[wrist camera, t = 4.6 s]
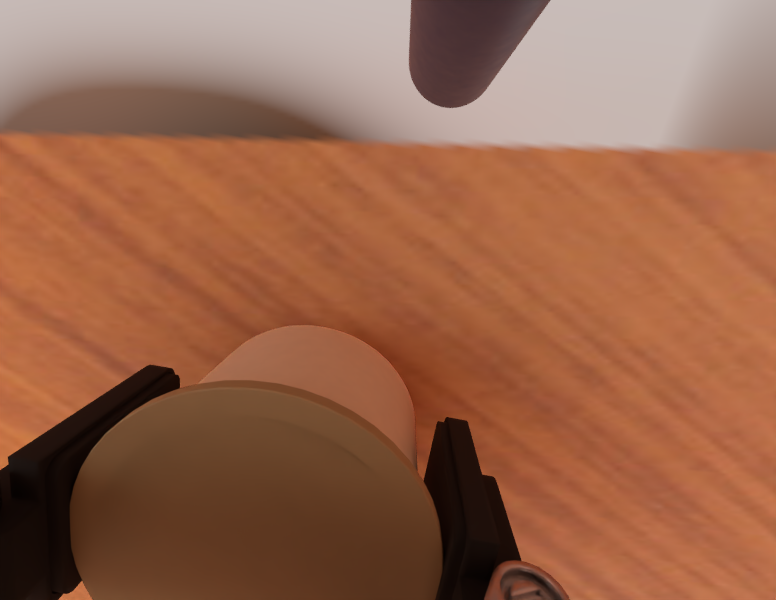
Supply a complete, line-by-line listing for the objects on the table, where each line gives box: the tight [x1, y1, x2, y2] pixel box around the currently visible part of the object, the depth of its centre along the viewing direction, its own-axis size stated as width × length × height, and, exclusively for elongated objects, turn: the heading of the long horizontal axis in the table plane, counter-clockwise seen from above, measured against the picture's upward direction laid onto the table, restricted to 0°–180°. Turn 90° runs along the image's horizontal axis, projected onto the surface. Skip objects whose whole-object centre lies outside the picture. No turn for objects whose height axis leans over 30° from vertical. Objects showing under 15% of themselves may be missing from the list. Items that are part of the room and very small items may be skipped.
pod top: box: [70, 325, 443, 600], centre depth 9 cm, size 7×7×4 cm
